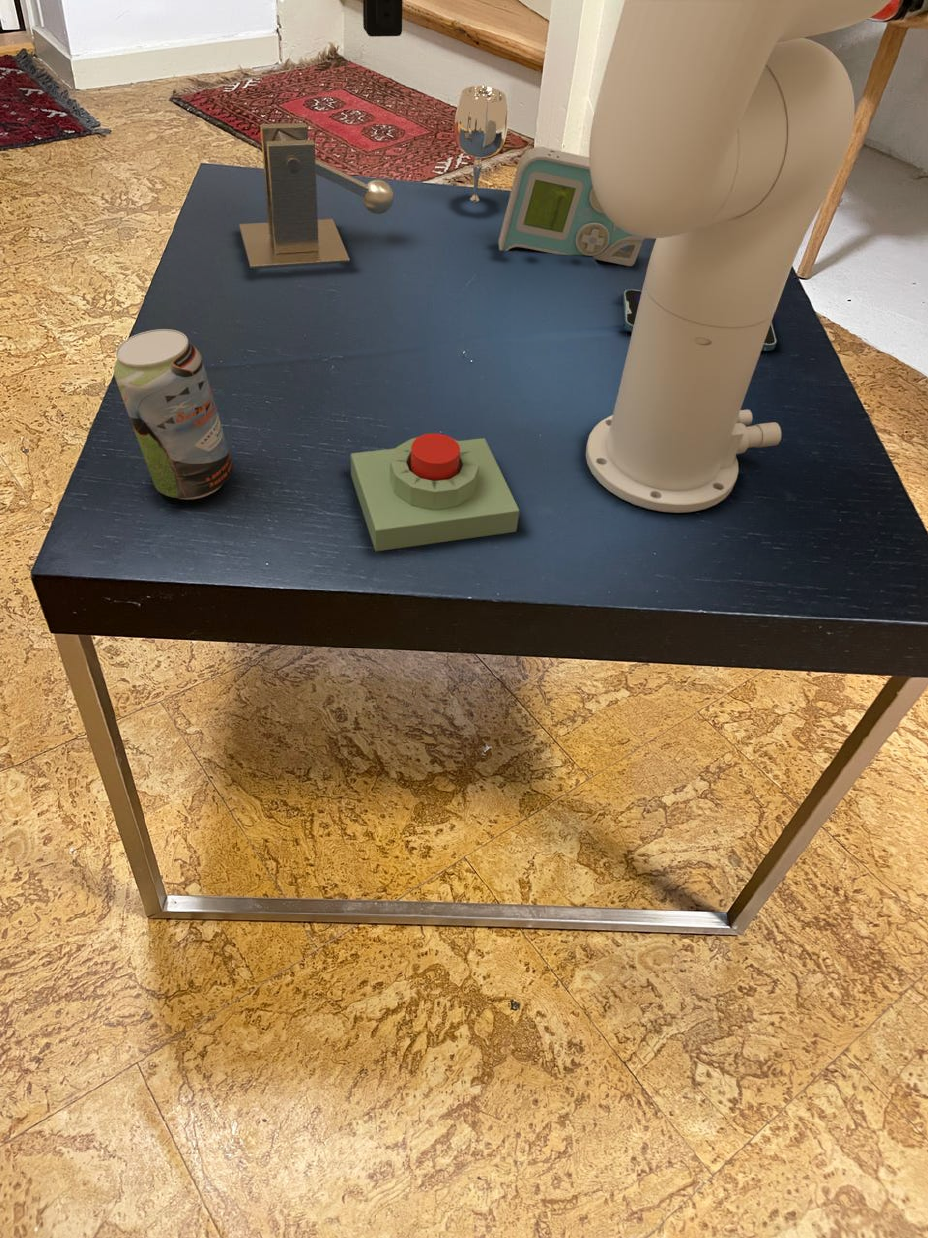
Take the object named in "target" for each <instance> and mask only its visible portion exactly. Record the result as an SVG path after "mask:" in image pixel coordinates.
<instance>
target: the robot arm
mask: <svg viewBox="0 0 928 1238" xmlns="http://www.w3.org/2000/svg"><path fill="white" fill-rule="evenodd" d="M403 1H404V0H362V27H363V30H364V31H365V32H366V34H367V35H368V36H369V37H371V38H372V37H373V38H374V37H400V36H401V35H402V33H403ZM890 2H892V0H624V2H623V6H622V9H621V13H620V17H619V20H618V22H617V27H616V30H615V34H614V37H613V41H612V45H611V47H610V48H611V49H610V52H609V54H608V55H609V56H608V59H607V63H606V66H605V70H604V74H603V77H602V81H601V84H600V88H599V92H598V96H597V99H596V103H595V107H594V112H593V116H592V123H591V127H590V134H589V147H588V157H589V165H590V174H591V180H592V185H593V189H594V192H595V195H596V198H597V200H598V202H599V204H600V206H601V208H602V210H603V211H604V213H605V215H606V216H607V217H608V218H609V219H610V221H612V222H613V223H614V224H615V225H616V226H617V227H619V228H620V229H621V230H623V231H625V232H627V233H629V234H632V235H635V236H638V237H643V238H645V239H655V241H654V244H653V247H652V251H651V253H650V257H649V260H648V264H647V268H646V271H645V272H646V273H645V277H644V281H643V285H642V288H641V290H642V293H641V297H640V301H639V305H638V310H637V314H636V318H635V323H634V327H633V331H632V332H631V337H630V340H629V344H628V349H627V353H626V356H625V360H624V361H625V362H624V366H623V370H622V374H621V379H620V383H619V388H618V391H617V395H616V400H615V404H614V408H613V413H612V415H609V416H607V417H606V418H603V419H602V420H601V421H599V422H598V423H597V424H596V425H595V426H594V427H593V429H592V430H591V431H590V433H589V435H588V438H587V441H586V447H585V448H586V449H585V460H586V464H587V466H588V468H589V470H590V472H591V474H592V475H593V477H594V478H595V479H596V481H597V482H598V483H599V484H600V485H601V486H603V487H604V488H605V489H606V490H607V491H608V492H610V493H612V494H613V495H615V496H616V497H618V498H619V499H621V500H622V501H623V500H624V501H625V502H628V503H629V504H632V505H634V506H637V507H639V508H644V509H647V510H651V511H657V512H662V513H673V514H675V513H676V514H680V513H694V512H698V511H702V510H707V509H709V508H712V507H714V506H716V505H718V504H720V503H721V502H723V501H724V500H726V498H727V497H728V496H729V495H730V494H731V492H733V488H734V487H735V484H736V482H737V479H738V475H739V471H740V469H739V461H738V459H737V455H740V454H743V453H746V452H747V450H748V449H749V448H757V449H758V448H767V447H773V446H778V445H779V444H780V442H781V440H782V430H781V429H782V428H781V426H780V424H779V423H778V422H775V421H774V422H773V421H772V422H765V423H757V424H754V425H752V423H753V418H754V417H753V413H752V411H751V410H750V409H748V408H747V409H742V407H743V403H744V401H745V398H746V395H747V392H748V390H749V386H750V384H751V381H752V378H753V375H754V372H755V370H756V367H757V364H758V361H759V358H760V356H761V352H762V351H763V350H762V347H763V344H764V341H765V339H766V336H767V333H768V330H769V327H770V324H771V321H772V322H773V318H774V315H775V313H776V311H777V309H778V306H779V302H780V300H781V297H782V294H783V291H784V289H785V286H786V283H787V280H788V278H789V275H790V272H791V269H792V267H793V264H794V262H795V260H796V257H797V255H798V253H799V250H800V248H801V246H802V243H803V242H804V239H805V237H806V235H807V233H808V230H809V229H810V227H811V224H812V223H813V221H814V219H815V217H816V215H817V213H818V212H819V210H820V208H821V206H822V204H823V202H824V201H825V199H826V197H827V195H828V193H829V191H830V190H831V187H832V186H833V184H834V182H835V180H836V178H837V176H838V174H839V172H840V170H841V167H842V165H843V163H844V160H845V158H846V155H847V152H848V150H849V146H850V143H851V140H852V135H853V130H854V126H855V125H854V124H855V111H856V107H855V105H856V104H855V93H854V89H853V85H852V82H851V79H850V77H849V74H848V72H847V70H846V68H845V67H844V65H843V63H842V62H841V60H840V59H839V58H838V57H837V56H836V55H835V54H834V52H832V51H831V50H829V49H828V47H826V46H824V45H822V44H820V43H818V42H816V41H814V40H812V39H808V38H807V37H813V36H816V35H822V34H827V33H831V32H836V31H838V30H842V29H845V28H849V27H851V26H854V25H857V24H859V23H862V22H865V21H867V20H868V19H870V18H871V17H873V16H875V15H877V14H878V13H880V12H881V11H882V10H883V9H884V8H886V6H887V5H888V4H889V3H890Z"/></svg>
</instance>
